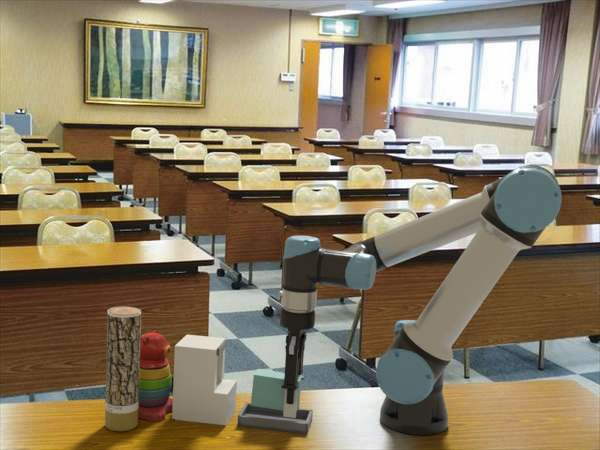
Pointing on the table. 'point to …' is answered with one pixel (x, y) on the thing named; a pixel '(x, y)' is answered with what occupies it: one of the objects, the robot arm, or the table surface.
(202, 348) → the dispenser
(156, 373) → the stacking bear
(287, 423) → the tray
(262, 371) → the teal block
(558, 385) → the table surface
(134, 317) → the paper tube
